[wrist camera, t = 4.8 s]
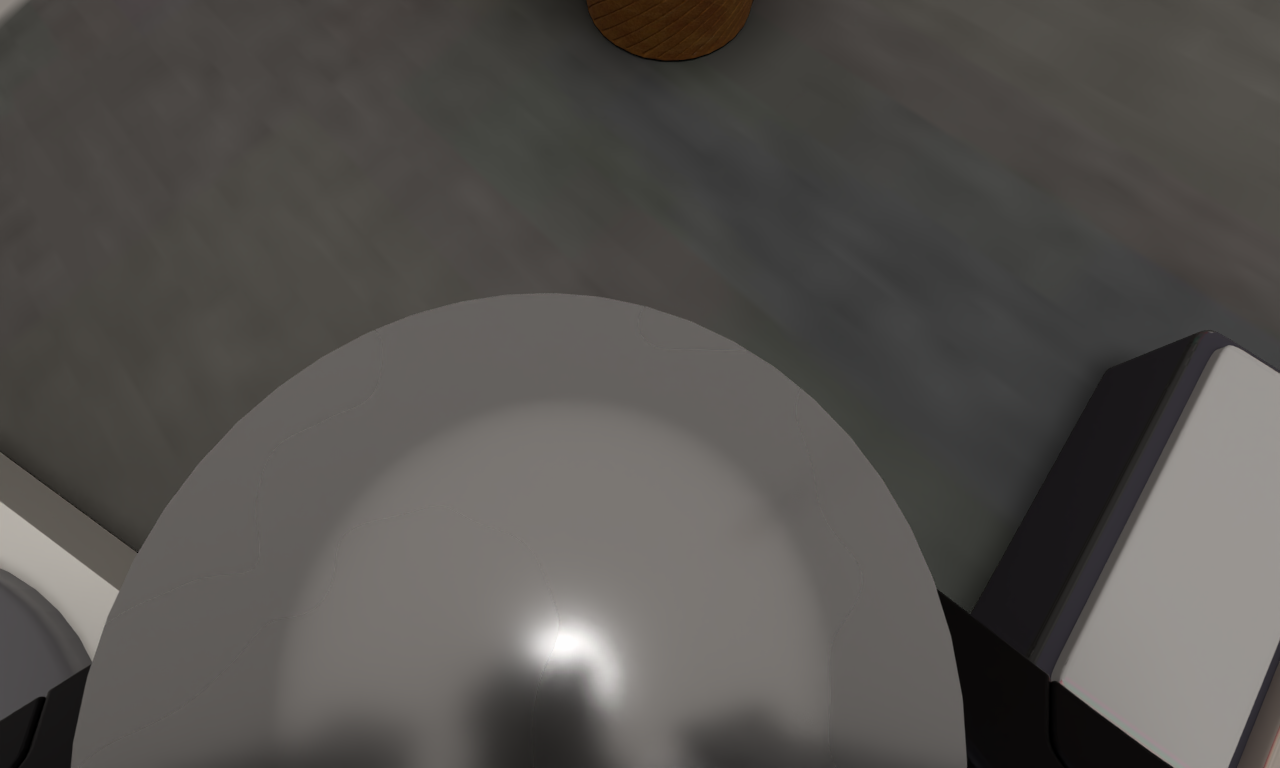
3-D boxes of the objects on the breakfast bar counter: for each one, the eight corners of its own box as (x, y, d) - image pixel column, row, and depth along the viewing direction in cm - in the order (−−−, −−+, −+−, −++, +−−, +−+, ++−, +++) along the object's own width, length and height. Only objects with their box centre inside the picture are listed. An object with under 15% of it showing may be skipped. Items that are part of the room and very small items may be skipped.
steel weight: (645, 802, 13) (682, 1638, 3) (448, 663, 14) (-140, 861, 3) (760, 583, 14) (1089, 536, 4) (575, 468, 15) (438, 178, 5)
